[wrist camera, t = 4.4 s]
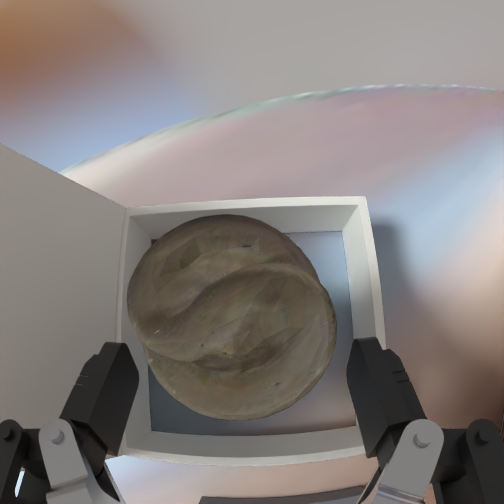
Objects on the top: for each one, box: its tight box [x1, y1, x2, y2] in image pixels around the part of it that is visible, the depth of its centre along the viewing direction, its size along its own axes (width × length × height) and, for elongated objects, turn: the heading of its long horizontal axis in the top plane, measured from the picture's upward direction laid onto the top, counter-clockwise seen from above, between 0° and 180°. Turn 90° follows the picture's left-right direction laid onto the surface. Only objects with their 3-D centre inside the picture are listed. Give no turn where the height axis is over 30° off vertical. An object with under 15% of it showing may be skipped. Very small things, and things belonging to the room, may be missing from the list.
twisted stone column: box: [127, 214, 337, 420], centre depth 13 cm, size 6×6×15 cm
